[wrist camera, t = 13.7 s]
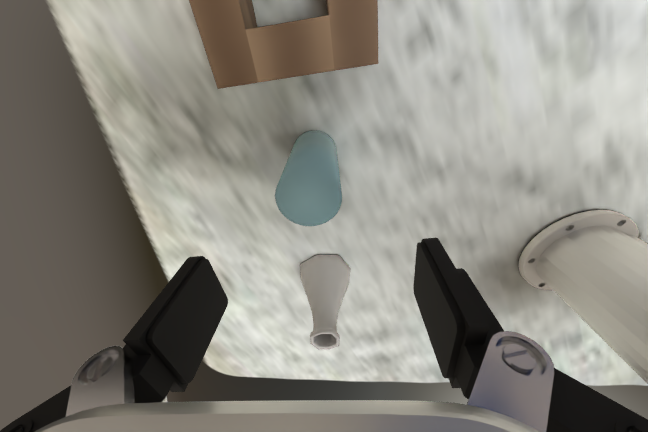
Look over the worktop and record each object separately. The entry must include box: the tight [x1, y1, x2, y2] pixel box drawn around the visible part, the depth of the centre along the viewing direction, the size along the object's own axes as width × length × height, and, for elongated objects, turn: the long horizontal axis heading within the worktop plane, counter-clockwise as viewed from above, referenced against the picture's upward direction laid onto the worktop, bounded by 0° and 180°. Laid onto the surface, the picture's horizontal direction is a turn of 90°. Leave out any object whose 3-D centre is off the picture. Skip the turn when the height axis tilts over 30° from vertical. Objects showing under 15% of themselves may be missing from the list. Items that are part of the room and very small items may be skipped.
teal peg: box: [275, 131, 342, 226], centre depth 21 cm, size 4×4×10 cm
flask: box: [300, 255, 350, 349], centre depth 30 cm, size 7×7×10 cm
